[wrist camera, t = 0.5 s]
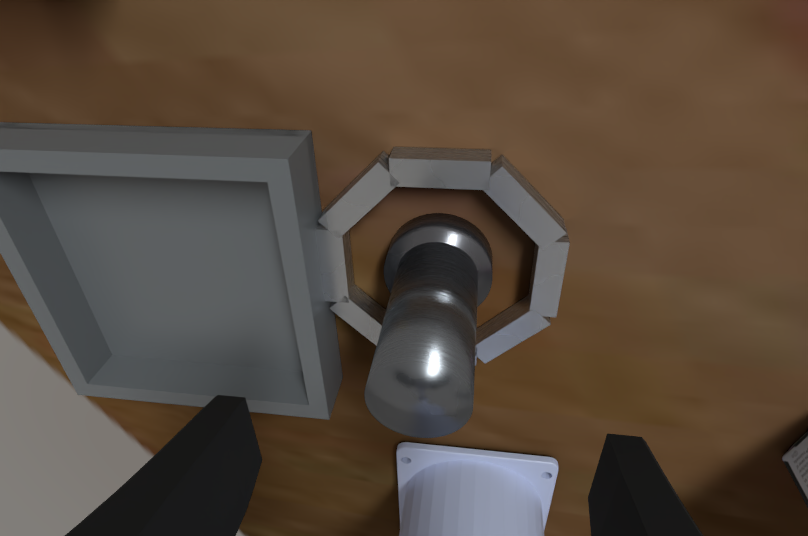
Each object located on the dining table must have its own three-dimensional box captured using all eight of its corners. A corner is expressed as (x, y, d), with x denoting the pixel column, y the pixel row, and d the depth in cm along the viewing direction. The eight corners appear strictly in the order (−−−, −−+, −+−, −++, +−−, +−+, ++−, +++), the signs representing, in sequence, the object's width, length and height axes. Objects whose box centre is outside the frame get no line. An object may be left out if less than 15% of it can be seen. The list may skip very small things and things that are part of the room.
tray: (342, 377, 25) (329, 419, 23) (110, 356, 26) (77, 394, 24) (311, 130, 18) (287, 159, 16) (0, 122, 20) (-58, 147, 17)
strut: (488, 303, 21) (486, 455, 15) (390, 296, 22) (352, 441, 16) (496, 215, 19) (497, 355, 13) (386, 210, 19) (340, 342, 14)
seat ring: (544, 354, 22) (546, 371, 21) (337, 337, 23) (332, 353, 23) (579, 152, 17) (583, 164, 16) (313, 144, 18) (304, 155, 17)
